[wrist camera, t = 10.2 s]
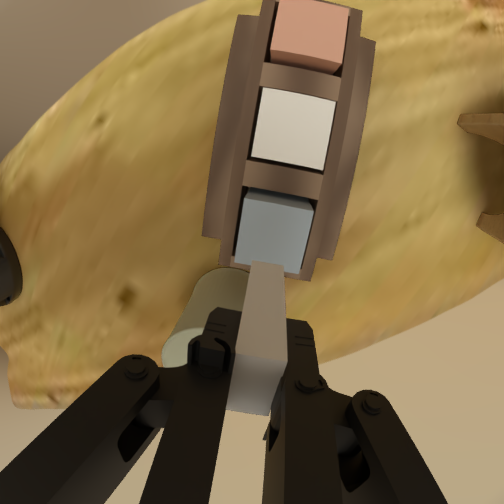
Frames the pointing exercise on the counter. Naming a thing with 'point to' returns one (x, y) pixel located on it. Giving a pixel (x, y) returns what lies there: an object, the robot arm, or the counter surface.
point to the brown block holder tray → (275, 172)
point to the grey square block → (274, 229)
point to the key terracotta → (309, 35)
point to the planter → (499, 130)
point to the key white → (293, 128)
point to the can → (204, 310)
